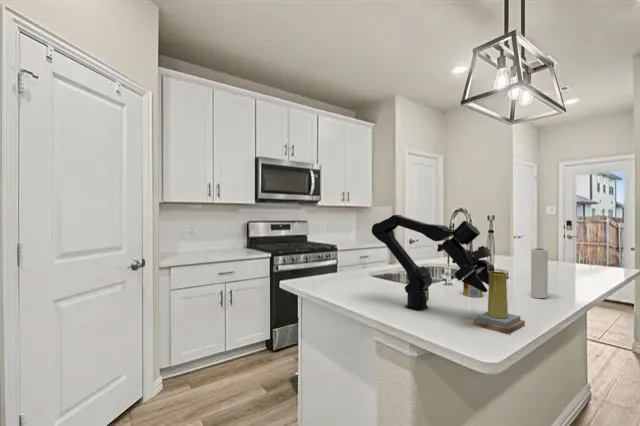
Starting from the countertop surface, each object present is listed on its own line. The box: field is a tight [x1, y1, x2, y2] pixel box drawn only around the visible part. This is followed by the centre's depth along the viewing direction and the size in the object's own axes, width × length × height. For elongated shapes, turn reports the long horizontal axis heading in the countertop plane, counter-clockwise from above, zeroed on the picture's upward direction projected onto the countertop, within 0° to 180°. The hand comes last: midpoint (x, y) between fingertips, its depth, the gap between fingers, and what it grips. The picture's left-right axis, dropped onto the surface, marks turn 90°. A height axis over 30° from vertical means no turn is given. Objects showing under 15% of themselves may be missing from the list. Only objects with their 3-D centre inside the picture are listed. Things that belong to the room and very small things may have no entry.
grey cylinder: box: [530, 247, 549, 299], centre depth 149 cm, size 7×6×21 cm
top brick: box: [476, 311, 521, 328], centre depth 112 cm, size 9×11×2 cm
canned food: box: [462, 281, 484, 299], centre depth 152 cm, size 8×8×12 cm
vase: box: [487, 271, 509, 319], centre depth 112 cm, size 6×6×14 cm
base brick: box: [472, 318, 526, 335], centre depth 112 cm, size 11×13×2 cm
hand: (490, 289), depth 113 cm, fingers open, 9 cm apart
